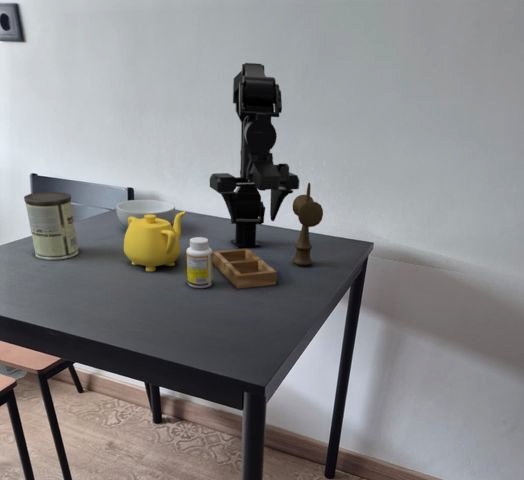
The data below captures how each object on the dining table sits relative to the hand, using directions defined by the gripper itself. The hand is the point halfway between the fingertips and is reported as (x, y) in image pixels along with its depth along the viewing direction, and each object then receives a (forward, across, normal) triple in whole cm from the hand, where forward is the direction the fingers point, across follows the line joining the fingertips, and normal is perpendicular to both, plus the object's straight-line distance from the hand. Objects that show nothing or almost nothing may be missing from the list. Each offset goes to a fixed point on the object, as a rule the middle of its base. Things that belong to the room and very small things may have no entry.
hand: (253, 221), depth 107 cm
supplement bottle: (+13, -13, -1) cm, 18 cm away
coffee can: (+13, -41, +29) cm, 52 cm away
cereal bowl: (+13, -15, +45) cm, 49 cm away
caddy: (+13, -1, +3) cm, 13 cm away
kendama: (+13, +16, +5) cm, 21 cm away
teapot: (+13, -18, +16) cm, 27 cm away
